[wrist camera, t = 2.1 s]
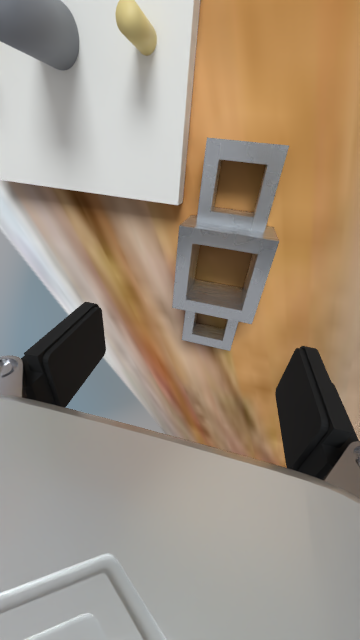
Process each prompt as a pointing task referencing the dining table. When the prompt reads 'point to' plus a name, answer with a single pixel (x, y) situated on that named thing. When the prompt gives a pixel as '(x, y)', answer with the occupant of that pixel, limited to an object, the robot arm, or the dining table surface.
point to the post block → (97, 95)
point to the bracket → (227, 244)
